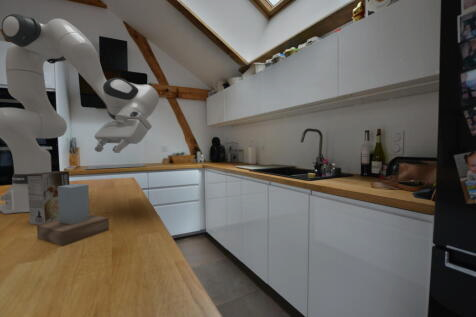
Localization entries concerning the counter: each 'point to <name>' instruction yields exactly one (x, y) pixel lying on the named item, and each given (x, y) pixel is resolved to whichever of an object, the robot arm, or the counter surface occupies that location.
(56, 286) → the counter surface
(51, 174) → the coffee box
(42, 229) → the walnut slab
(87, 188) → the slate block
